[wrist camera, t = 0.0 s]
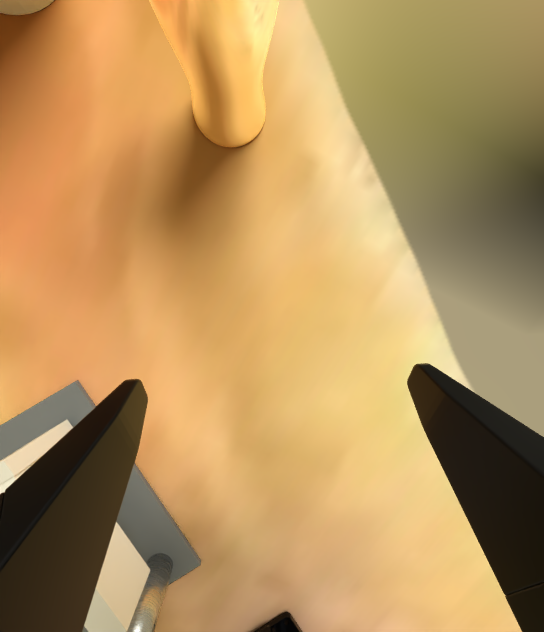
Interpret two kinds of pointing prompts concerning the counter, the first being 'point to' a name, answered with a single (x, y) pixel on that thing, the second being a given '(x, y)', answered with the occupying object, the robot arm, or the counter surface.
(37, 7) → the reusable coffee cup
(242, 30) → the beer glass
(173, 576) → the mat
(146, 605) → the gate post
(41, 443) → the cream long block
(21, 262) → the counter surface
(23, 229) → the counter surface
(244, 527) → the counter surface
